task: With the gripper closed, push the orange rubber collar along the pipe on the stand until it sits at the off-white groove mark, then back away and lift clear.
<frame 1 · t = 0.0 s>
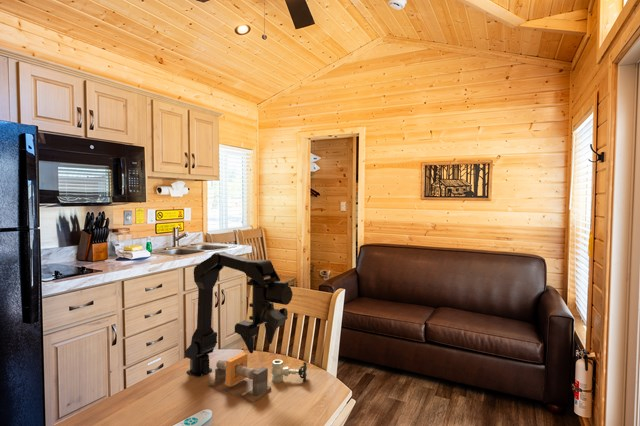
hand: (260, 348, 122), 15 cm above the table, tool pointing down, fingers open, 9 cm apart
pipe stand: (238, 387, 125), on the table
valve: (288, 381, 131), on the table
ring: (236, 369, 126), point 6 cm above the table, slide at 0.0 cm
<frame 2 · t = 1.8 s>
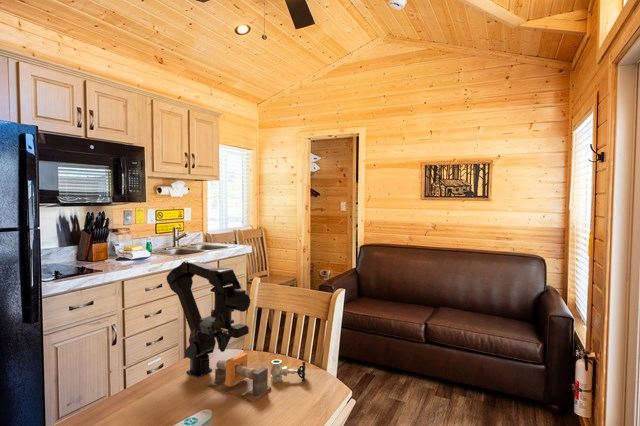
hand: (222, 351, 129), 10 cm above the table, tool pointing down, fingers closed
nothing on the table moved.
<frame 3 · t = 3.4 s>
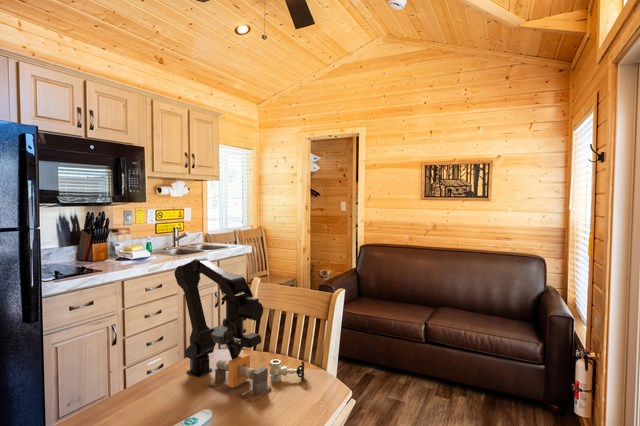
hand: (234, 361, 126), 8 cm above the table, tool pointing down, fingers closed
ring: (239, 369, 125), point 6 cm above the table, slide at 1.1 cm, touching gripper
everything else where it was.
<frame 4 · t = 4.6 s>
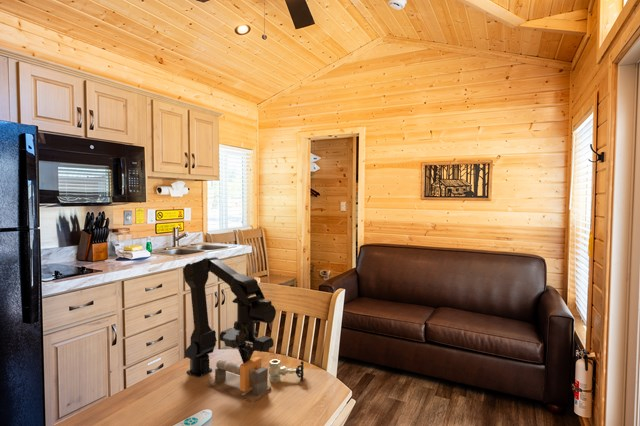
hand: (245, 365, 124), 8 cm above the table, tool pointing down, fingers closed
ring: (250, 373, 123), point 6 cm above the table, slide at 6.1 cm, touching gripper
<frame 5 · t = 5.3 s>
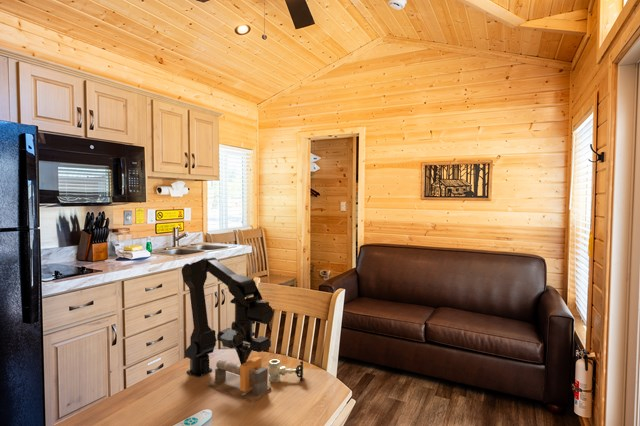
hand: (243, 365, 124), 8 cm above the table, tool pointing down, fingers closed
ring: (251, 373, 123), point 6 cm above the table, slide at 6.2 cm
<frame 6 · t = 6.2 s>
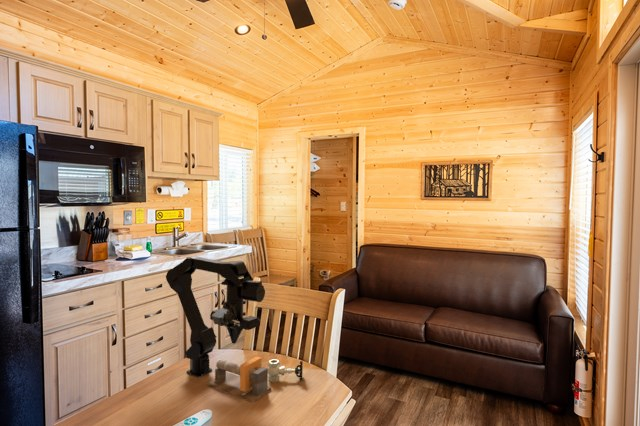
hand: (234, 343, 131), 13 cm above the table, tool pointing down, fingers closed
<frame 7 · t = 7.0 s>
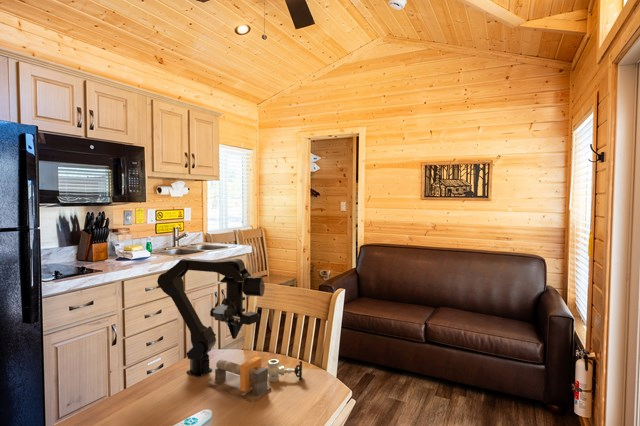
hand: (234, 338, 134), 13 cm above the table, tool pointing down, fingers closed
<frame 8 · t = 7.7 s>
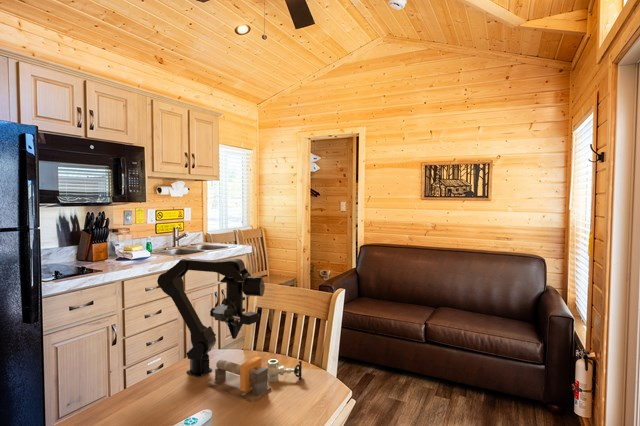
hand: (234, 338, 134), 13 cm above the table, tool pointing down, fingers closed
at the end: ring slide at 6.2 cm; valve moved 1.9 cm from its start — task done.
